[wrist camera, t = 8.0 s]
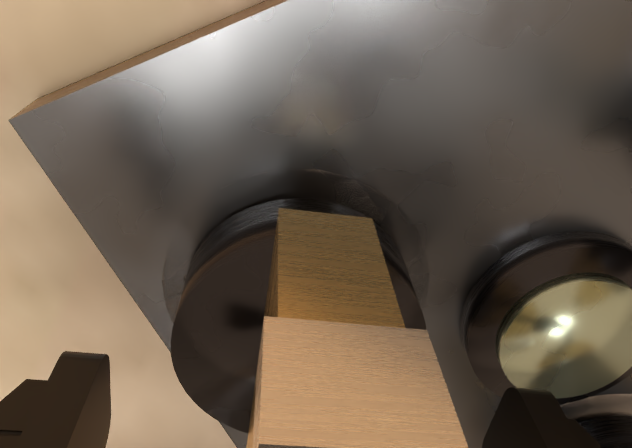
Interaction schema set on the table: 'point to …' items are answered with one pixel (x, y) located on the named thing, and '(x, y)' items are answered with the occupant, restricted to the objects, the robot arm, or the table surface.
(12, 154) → the table surface
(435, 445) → the knob
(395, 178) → the plate
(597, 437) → the knob
